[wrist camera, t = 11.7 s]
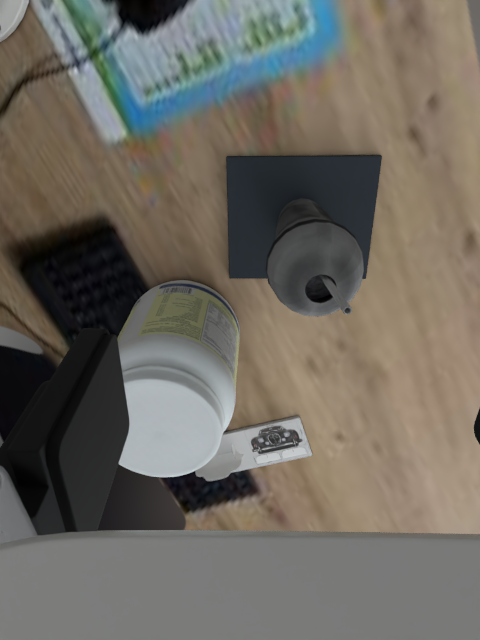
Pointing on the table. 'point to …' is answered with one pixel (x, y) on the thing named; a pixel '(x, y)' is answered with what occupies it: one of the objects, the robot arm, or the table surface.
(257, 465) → the vintage car picture box
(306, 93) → the table surface
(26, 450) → the robot arm
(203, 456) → the supplement tub
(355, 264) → the beverage cup
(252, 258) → the mat
